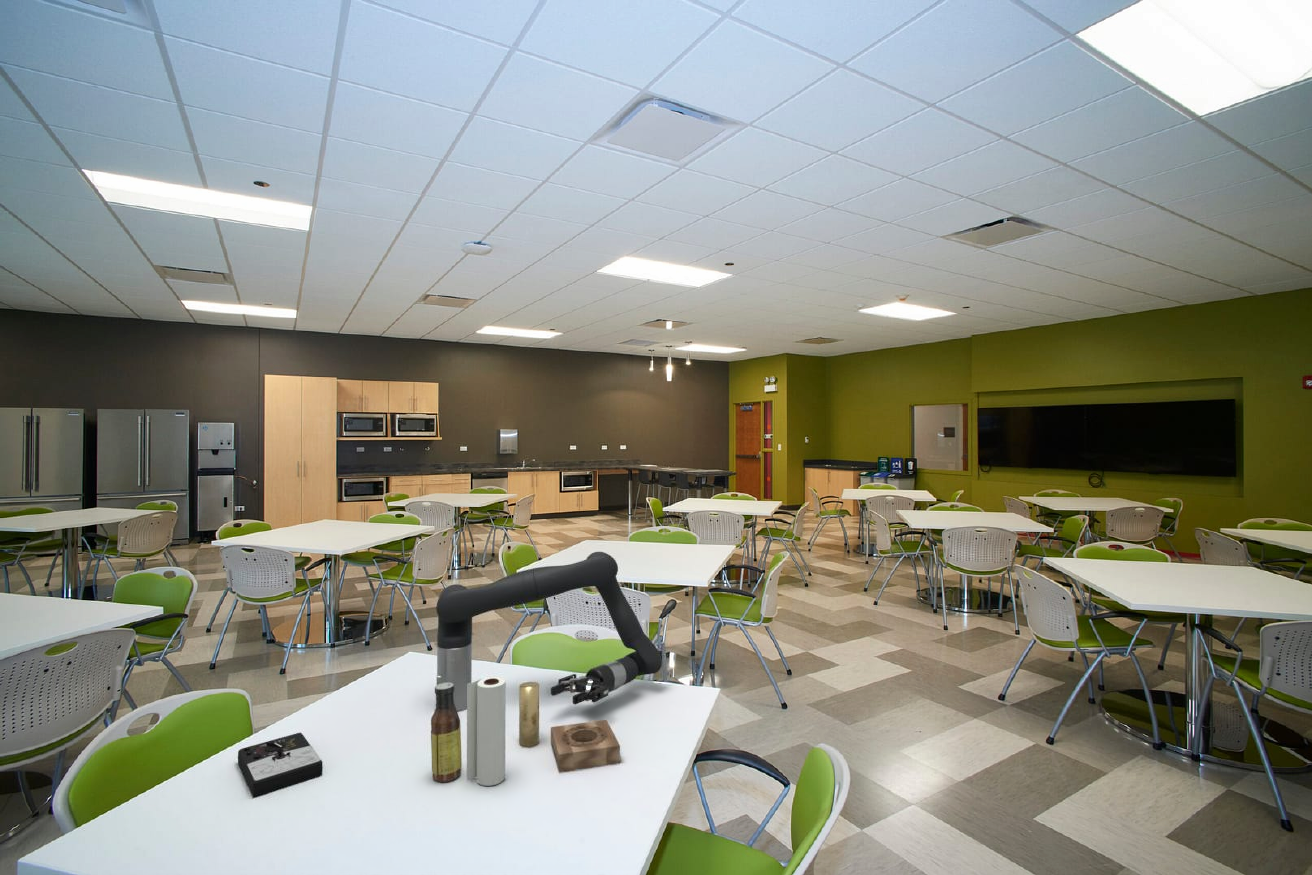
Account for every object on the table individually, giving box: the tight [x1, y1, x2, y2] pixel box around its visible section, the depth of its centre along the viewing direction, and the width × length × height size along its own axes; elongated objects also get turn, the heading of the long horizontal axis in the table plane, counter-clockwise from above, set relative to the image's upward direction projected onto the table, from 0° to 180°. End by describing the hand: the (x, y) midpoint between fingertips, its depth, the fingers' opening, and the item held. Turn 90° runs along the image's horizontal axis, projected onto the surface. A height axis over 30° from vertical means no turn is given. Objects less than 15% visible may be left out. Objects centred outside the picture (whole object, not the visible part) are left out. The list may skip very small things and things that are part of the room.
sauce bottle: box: [430, 683, 463, 783], centre depth 136 cm, size 7×6×20 cm
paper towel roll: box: [466, 676, 507, 787], centre depth 135 cm, size 7×6×21 cm
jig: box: [550, 719, 621, 774], centre depth 146 cm, size 14×14×4 cm
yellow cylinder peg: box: [518, 681, 540, 749], centre depth 151 cm, size 5×5×14 cm
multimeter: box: [237, 732, 324, 798], centre depth 138 cm, size 13×19×5 cm
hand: (562, 695), depth 159 cm, fingers open, 8 cm apart
